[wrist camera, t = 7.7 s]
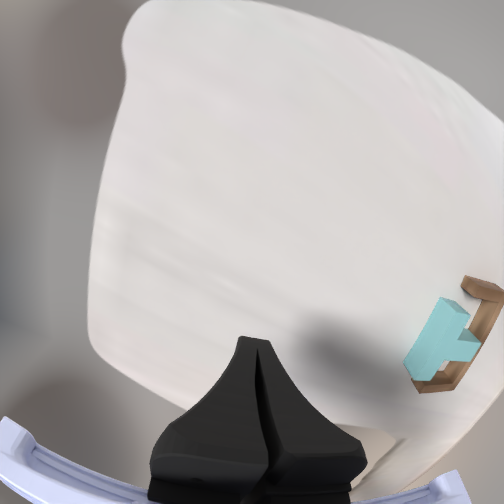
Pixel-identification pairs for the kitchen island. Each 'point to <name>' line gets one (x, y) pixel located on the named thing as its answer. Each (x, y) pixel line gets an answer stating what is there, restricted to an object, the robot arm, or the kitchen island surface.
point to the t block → (441, 341)
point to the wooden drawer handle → (479, 328)
